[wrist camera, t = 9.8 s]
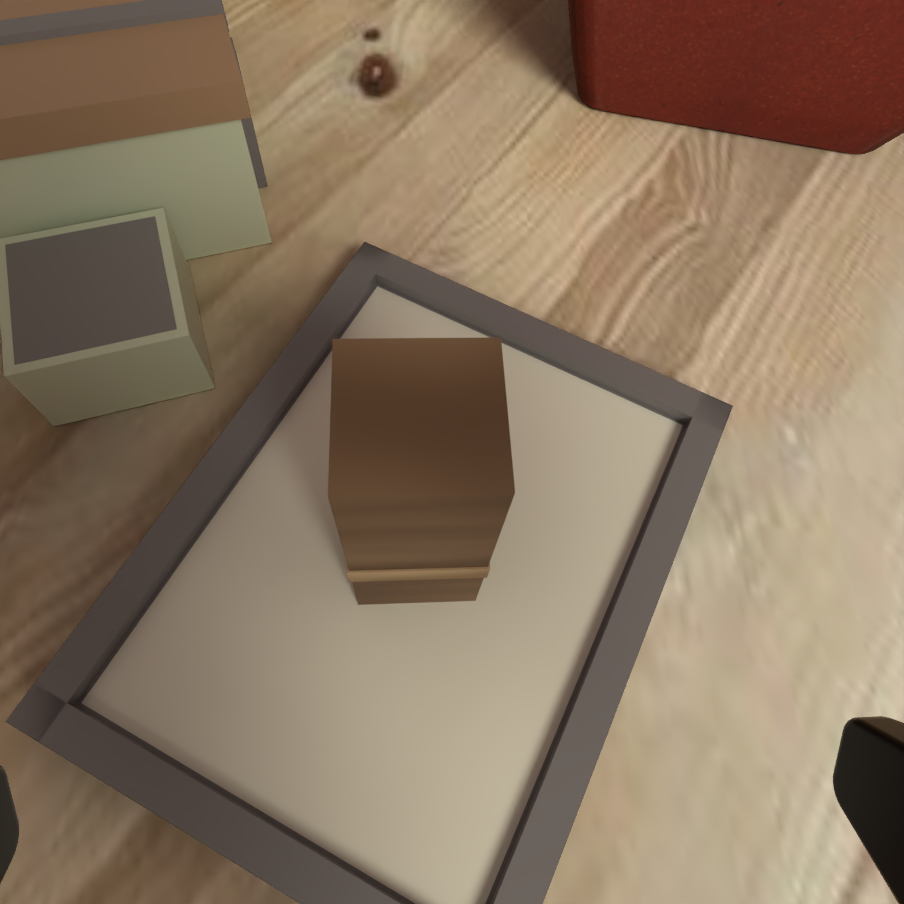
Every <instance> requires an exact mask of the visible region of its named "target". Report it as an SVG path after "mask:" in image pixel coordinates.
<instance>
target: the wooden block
mask: <svg viewBox="0 0 904 904" xmlns="http://www.w3.org/2000/svg"><path fill="white" fill-rule="evenodd" d="M514 494H515V485H514V474H513V463H512V452H511V441H510V430H509V419H508V408H507V397H506V387H505V376H504V365H503V354H502V343H501V337H495V338H360V339H333V342H332V375H331V408H330V441H329V474H328V499H329V503H330V506H331V510H332V513H333V517H334V520H335V524H336V527H337V531H338V534H339V538H340V541H341V545H342V549H343V552H344V556H345V559H346V563H347V576H348V579H349V582H352V584H353V587H354V591H355V594H356V598H357V601H358V605H368V604H398V603H428V602H457V601H476V598H477V595H478V593H479V590H480V587H481V584H482V582H483V579H484V578H487V576H488V573H489V571H490V560H491V557H492V554H493V552H494V549H495V546H496V543H497V541H498V538H499V535H500V533H501V530H502V527H503V524H504V522H505V519H506V516H507V513H508V511H509V508H510V505H511V503H512V500H513V497H514Z"/></svg>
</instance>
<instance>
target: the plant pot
mask: <svg viewBox="0 0 904 904" xmlns="http://www.w3.org/2000/svg"><path fill="white" fill-rule="evenodd" d="M568 3H569V18H570V33H571V47H572V55H573V63H574V71H575V78H576V83H577V89H578V94H579V95H580V97H581V98H582V100H583V101H584V102H585V103H586V104H588V105H590V106H592V107H593V108H596V109H600V110H604V111H610V112H615V113H621V114H626V115H633V116H639V117H643V118H648V119H654V120H660V121H666V122H672V123H678V124H684V125H690V126H696V127H702V128H708V129H714V130H720V131H726V132H732V133H737V134H742V135H748V136H753V137H759V138H764V139H770V140H775V141H781V142H787V143H793V144H799V145H805V146H811V147H817V148H823V149H829V150H834V151H840V152H846V153H851V154H865V153H868V152H871V151H873V150H875V149H877V148H878V147H880V146H882V145H884V144H885V143H887V142H889V141H890V140H892V139H894V138H895V137H897V136H899V135H901V134H902V133H904V0H568Z"/></svg>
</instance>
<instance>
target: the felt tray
mask: <svg viewBox="0 0 904 904" xmlns="http://www.w3.org/2000/svg"><path fill="white" fill-rule="evenodd" d="M495 337H501V343H502V354H503V365H504V376H505V387H506V397H507V408H508V419H509V430H510V441H511V452H512V463H513V474H514V485H515V494H514V497H513V500H512V503H511V505H510V508H509V511H508V513H507V516H506V519H505V522H504V524H503V527H502V530H501V533H500V535H499V538H498V541H497V543H496V546H495V549H494V552H493V554H492V557H491V560H490V571H489V573H488V576H487V578H484V579H483V582H482V584H481V587H480V590H479V593H478V595H477V598H476V601H457V602H428V603H398V604H368V605H358V601H357V598H356V594H355V591H354V587H353V584H352V582H349V579H348V576H347V563H346V559H345V556H344V552H343V549H342V545H341V541H340V538H339V534H338V531H337V527H336V524H335V520H334V517H333V513H332V510H331V506H330V503H329V499H328V474H329V441H330V408H331V375H332V342H333V339H360V338H495ZM731 409H732V405H730V404H727V403H725V402H723V401H721V400H718V399H716V398H714V397H712V396H709V395H707V394H705V393H703V392H700V391H698V390H696V389H694V388H691V387H689V386H687V385H685V384H683V383H680V382H678V381H676V380H674V379H671V378H669V377H667V376H665V375H662V374H660V373H658V372H656V371H653V370H651V369H649V368H647V367H644V366H642V365H640V364H638V363H635V362H633V361H631V360H629V359H626V358H624V357H622V356H620V355H617V354H615V353H613V352H611V351H609V350H606V349H604V348H602V347H600V346H597V345H595V344H593V343H591V342H588V341H586V340H584V339H582V338H579V337H577V336H575V335H573V334H570V333H568V332H566V331H564V330H561V329H559V328H557V327H555V326H552V325H550V324H548V323H546V322H543V321H541V320H539V319H537V318H534V317H532V316H530V315H528V314H526V313H523V312H521V311H519V310H517V309H514V308H512V307H510V306H508V305H505V304H503V303H501V302H499V301H496V300H494V299H492V298H490V297H487V296H485V295H483V294H481V293H478V292H476V291H474V290H472V289H469V288H467V287H465V286H463V285H460V284H458V283H456V282H454V281H452V280H449V279H447V278H445V277H443V276H440V275H438V274H436V273H434V272H431V271H429V270H427V269H425V268H422V267H420V266H418V265H416V264H413V263H411V262H409V261H407V260H404V259H402V258H400V257H398V256H395V255H393V254H391V253H389V252H386V251H384V250H382V249H380V248H378V247H375V246H373V245H371V244H369V243H366V242H364V243H363V245H362V246H361V247H360V249H359V250H358V251H357V253H356V254H355V255H354V257H353V258H352V259H351V261H350V262H349V263H348V265H347V266H346V267H345V269H344V270H343V271H342V273H341V274H340V275H339V277H338V278H337V280H336V281H335V282H334V284H333V285H332V286H331V288H330V289H329V290H328V292H327V293H326V294H325V296H324V297H323V298H322V300H321V301H320V302H319V304H318V305H317V306H316V308H315V309H314V310H313V312H312V313H311V314H310V316H309V317H308V318H307V320H306V321H305V322H304V324H303V325H302V326H301V328H300V329H299V330H298V332H297V333H296V334H295V336H294V337H293V338H292V340H291V341H290V342H289V344H288V345H287V346H286V348H285V349H284V350H283V352H282V353H281V354H280V356H279V357H278V358H277V360H276V361H275V362H274V364H273V365H272V366H271V368H270V369H269V370H268V372H267V373H266V374H265V376H264V377H263V378H262V380H261V381H260V382H259V384H258V385H257V386H256V388H255V389H254V390H253V392H252V393H251V394H250V396H249V397H248V398H247V400H246V401H245V402H244V404H243V405H242V406H241V408H240V409H239V410H238V412H237V413H236V414H235V416H234V417H233V418H232V420H231V421H230V423H229V424H228V425H227V427H226V428H225V429H224V431H223V432H222V433H221V435H220V436H219V437H218V439H217V440H216V441H215V443H214V444H213V445H212V447H211V448H210V449H209V451H208V452H207V453H206V455H205V456H204V457H203V459H202V460H201V461H200V463H199V464H198V465H197V467H196V468H195V469H194V471H193V472H192V473H191V475H190V476H189V477H188V479H187V480H186V481H185V483H184V484H183V485H182V487H181V488H180V489H179V491H178V492H177V493H176V495H175V496H174V497H173V499H172V500H171V501H170V503H169V504H168V505H167V507H166V508H165V509H164V511H163V512H162V513H161V515H160V516H159V517H158V519H157V520H156V521H155V523H154V524H153V525H152V527H151V528H150V529H149V531H148V532H147V533H146V535H145V536H144V537H143V539H142V540H141V541H140V543H139V544H138V545H137V547H136V548H135V549H134V551H133V552H132V553H131V555H130V556H129V557H128V559H127V560H126V562H125V563H124V564H123V566H122V567H121V568H120V570H119V571H118V572H117V574H116V575H115V576H114V578H113V579H112V580H111V582H110V583H109V584H108V586H107V587H106V588H105V590H104V591H103V592H102V594H101V595H100V596H99V598H98V599H97V600H96V602H95V603H94V604H93V606H92V607H91V608H90V610H89V611H88V612H87V614H86V615H85V616H84V618H83V619H82V620H81V622H80V623H79V624H78V626H77V627H76V628H75V630H74V631H73V632H72V634H71V635H70V636H69V638H68V639H67V640H66V642H65V643H64V644H63V646H62V647H61V648H60V650H59V651H58V652H57V654H56V655H55V656H54V658H53V659H52V660H51V662H50V663H49V664H48V666H47V667H46V668H45V670H44V671H43V672H42V674H41V675H40V676H39V678H38V679H37V680H36V682H35V683H34V684H33V686H32V687H31V688H30V690H29V691H28V692H27V694H26V695H25V696H24V698H23V699H22V701H21V702H20V703H19V705H18V706H17V707H16V709H15V710H14V711H13V713H12V714H11V715H10V717H9V718H8V719H7V721H6V722H7V723H9V724H10V725H12V726H13V727H15V728H17V729H18V730H20V731H22V732H23V733H25V734H26V735H28V736H30V737H31V738H33V739H35V740H36V741H38V742H39V743H41V744H43V745H44V746H46V747H47V748H49V749H51V750H52V751H54V752H56V753H57V754H59V755H60V756H62V757H64V758H65V759H67V760H69V761H70V762H72V763H73V764H75V765H77V766H78V767H80V768H81V769H83V770H85V771H86V772H88V773H90V774H91V775H93V776H94V777H96V778H98V779H99V780H101V781H103V782H104V783H106V784H107V785H109V786H111V787H112V788H114V789H116V790H117V791H119V792H120V793H122V794H124V795H125V796H127V797H128V798H130V799H132V800H133V801H135V802H137V803H138V804H140V805H141V806H143V807H145V808H146V809H148V810H150V811H151V812H153V813H154V814H156V815H158V816H159V817H161V818H162V819H164V820H166V821H167V822H169V823H171V824H172V825H174V826H175V827H177V828H179V829H180V830H182V831H184V832H185V833H187V834H188V835H190V836H192V837H193V838H195V839H197V840H198V841H200V842H201V843H203V844H205V845H206V846H208V847H209V848H211V849H213V850H214V851H216V852H218V853H219V854H221V855H222V856H224V857H226V858H227V859H229V860H231V861H232V862H234V863H235V864H237V865H239V866H240V867H242V868H243V869H245V870H247V871H248V872H250V873H252V874H253V875H255V876H256V877H258V878H260V879H261V880H263V881H265V882H266V883H268V884H269V885H271V886H273V887H274V888H276V889H277V890H279V891H281V892H282V893H284V894H286V895H287V896H289V897H290V898H292V899H294V900H295V901H297V902H299V903H300V904H543V901H544V899H545V896H546V893H547V891H548V888H549V886H550V883H551V880H552V878H553V875H554V872H555V870H556V867H557V865H558V862H559V859H560V857H561V854H562V852H563V849H564V846H565V844H566V841H567V838H568V836H569V833H570V831H571V828H572V825H573V823H574V820H575V817H576V815H577V812H578V810H579V807H580V804H581V802H582V799H583V797H584V794H585V791H586V789H587V786H588V783H589V781H590V778H591V776H592V773H593V770H594V768H595V765H596V763H597V760H598V757H599V755H600V752H601V749H602V747H603V744H604V742H605V739H606V736H607V734H608V731H609V728H610V726H611V723H612V721H613V718H614V715H615V713H616V710H617V708H618V705H619V702H620V700H621V697H622V694H623V692H624V689H625V687H626V684H627V681H628V679H629V676H630V674H631V671H632V668H633V666H634V663H635V660H636V658H637V655H638V653H639V650H640V647H641V645H642V642H643V639H644V637H645V634H646V632H647V629H648V626H649V624H650V621H651V619H652V616H653V613H654V611H655V608H656V605H657V603H658V600H659V598H660V595H661V592H662V590H663V587H664V585H665V582H666V579H667V577H668V574H669V571H670V569H671V566H672V564H673V561H674V558H675V556H676V553H677V550H678V548H679V545H680V543H681V540H682V537H683V535H684V532H685V530H686V527H687V524H688V522H689V519H690V516H691V514H692V511H693V509H694V506H695V503H696V501H697V498H698V495H699V493H700V490H701V488H702V485H703V482H704V480H705V477H706V475H707V472H708V469H709V467H710V464H711V461H712V459H713V456H714V454H715V451H716V448H717V446H718V443H719V441H720V438H721V435H722V433H723V430H724V427H725V425H726V422H727V420H728V417H729V414H730V412H731Z"/></svg>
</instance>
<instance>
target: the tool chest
mask: <svg viewBox="0 0 904 904" xmlns="http://www.w3.org/2000/svg"><path fill="white" fill-rule="evenodd" d="M265 186H267V182H266V177H265V173H264V169H263V165H262V160H261V156H260V152H259V148H258V144H257V139H256V135H255V131H254V127H253V123H252V118H251V114H250V110H249V106H248V101H247V97H246V93H245V89H244V85H243V80H242V76H241V72H240V68H239V63H238V59H237V55H236V51H235V48H234V44H233V41H232V37H231V38H230V36H229V29H228V24H227V20H226V16H225V12H224V8H223V4H222V0H0V328H1V343H2V357H3V371H4V377H5V378H6V379H7V380H8V381H9V382H10V383H11V384H12V385H13V386H14V387H15V388H16V389H17V390H18V391H19V392H20V393H21V394H22V395H23V396H24V397H25V398H26V399H27V400H28V401H29V402H30V403H31V404H32V405H33V406H34V407H35V408H36V409H37V410H38V411H39V412H40V413H41V414H42V415H43V416H44V417H45V418H46V419H47V420H48V421H49V422H50V423H51V424H52V425H53V426H58V425H62V424H67V423H71V422H75V421H79V420H84V419H88V418H92V417H96V416H100V415H105V414H109V413H113V412H117V411H122V410H126V409H130V408H134V407H138V406H143V405H147V404H151V403H155V402H159V401H164V400H168V399H172V398H176V397H181V396H185V395H189V394H193V393H197V392H202V391H206V390H210V389H214V388H215V385H214V380H213V375H212V370H211V366H210V361H209V356H208V351H207V347H206V342H205V337H204V332H203V328H202V323H201V318H200V313H199V309H198V304H197V299H196V294H195V290H194V285H193V280H192V276H191V271H190V268H189V266H188V264H187V261H186V260H189V259H194V258H199V257H204V256H209V255H214V254H219V253H224V252H229V251H234V250H238V249H243V248H248V247H253V246H258V245H263V244H268V243H272V241H271V237H270V233H269V229H268V225H267V221H266V217H265V213H264V209H263V205H262V201H261V197H260V193H259V189H258V188H260V187H265Z"/></svg>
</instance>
